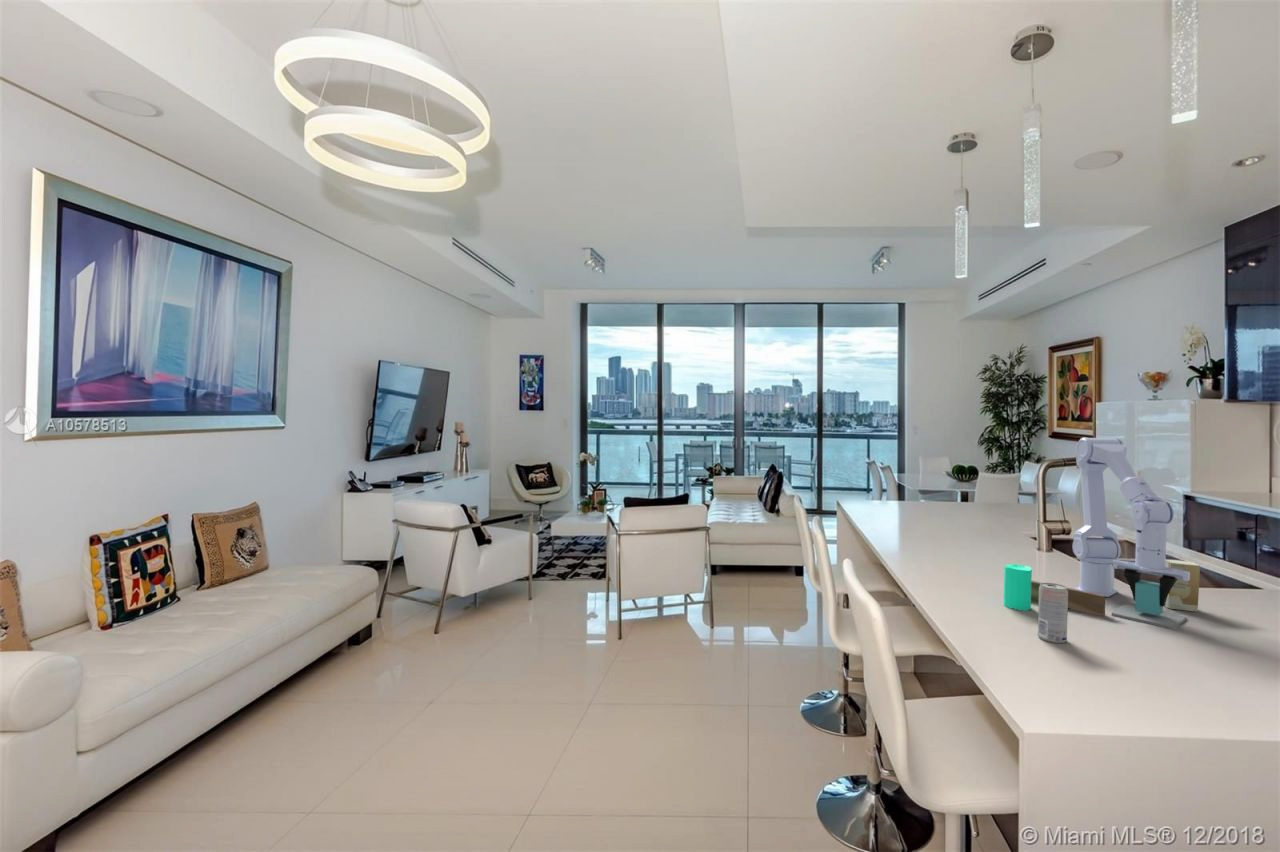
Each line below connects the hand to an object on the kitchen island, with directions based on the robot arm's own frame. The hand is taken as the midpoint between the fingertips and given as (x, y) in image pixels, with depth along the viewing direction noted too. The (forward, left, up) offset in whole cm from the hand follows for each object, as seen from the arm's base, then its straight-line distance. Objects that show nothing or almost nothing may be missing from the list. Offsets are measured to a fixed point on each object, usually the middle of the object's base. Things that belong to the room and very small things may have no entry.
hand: (1149, 602), depth 148 cm
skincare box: (-16, +3, -4) cm, 17 cm away
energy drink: (+37, -9, -4) cm, 38 cm away
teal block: (0, 0, -2) cm, 2 cm away
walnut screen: (+8, -17, -4) cm, 19 cm away
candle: (+18, -23, -4) cm, 29 cm away
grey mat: (0, 0, -4) cm, 4 cm away
